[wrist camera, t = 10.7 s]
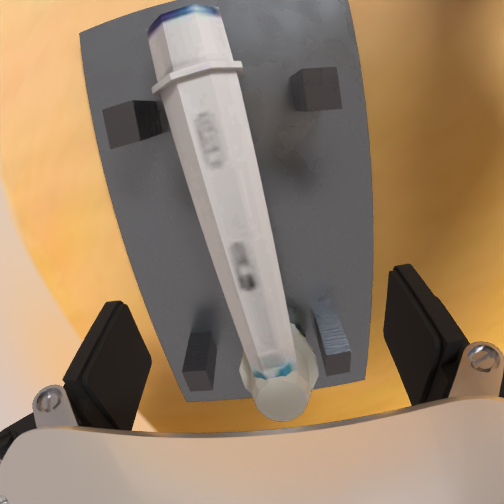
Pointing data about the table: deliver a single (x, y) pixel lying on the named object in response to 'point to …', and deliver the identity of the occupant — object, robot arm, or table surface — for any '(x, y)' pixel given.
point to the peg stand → (272, 177)
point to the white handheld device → (231, 202)
